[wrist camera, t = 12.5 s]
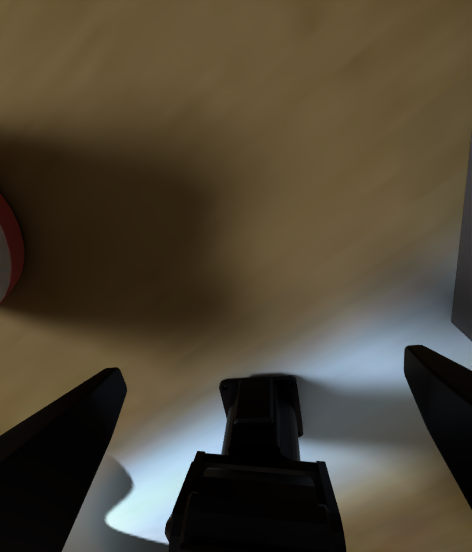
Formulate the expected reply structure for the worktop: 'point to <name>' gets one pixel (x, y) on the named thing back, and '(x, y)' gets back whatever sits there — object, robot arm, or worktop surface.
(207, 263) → the worktop surface
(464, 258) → the grey open rectangular box
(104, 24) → the worktop surface
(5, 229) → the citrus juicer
